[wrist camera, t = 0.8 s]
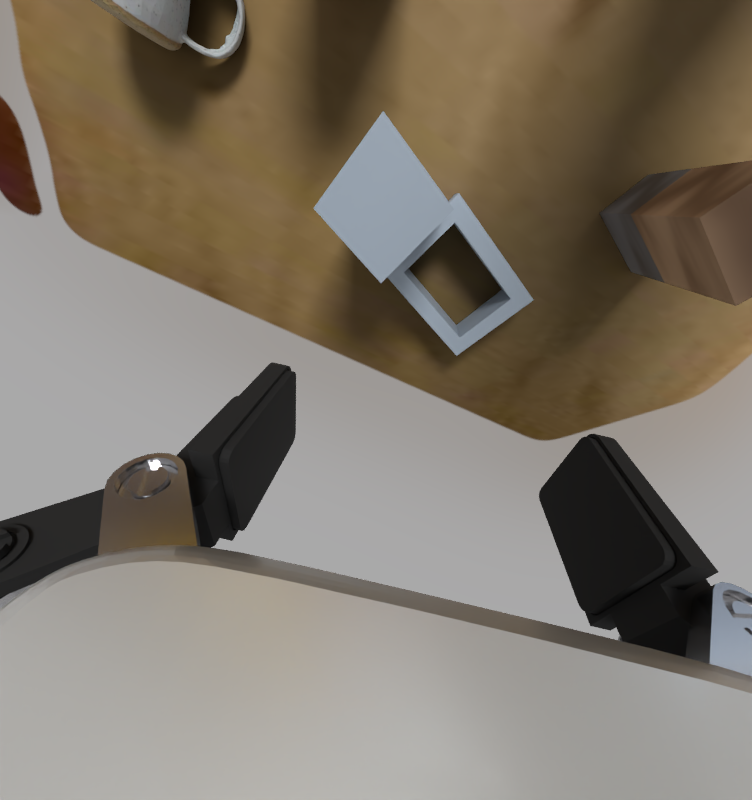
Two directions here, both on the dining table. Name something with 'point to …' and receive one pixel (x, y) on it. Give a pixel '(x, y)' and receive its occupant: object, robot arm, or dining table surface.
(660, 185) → the wooden rectangular block
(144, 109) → the dining table surface
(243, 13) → the ceramic mug
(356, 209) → the blue stepped tray
